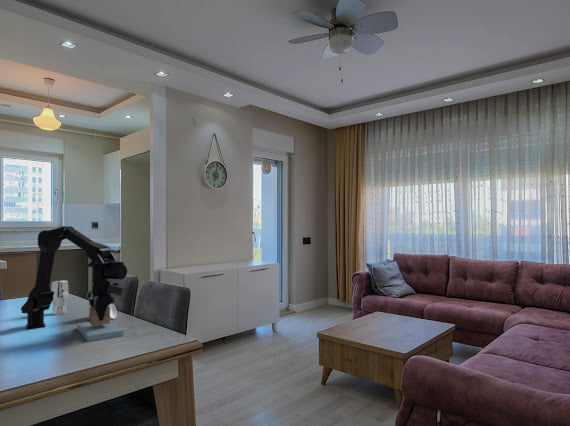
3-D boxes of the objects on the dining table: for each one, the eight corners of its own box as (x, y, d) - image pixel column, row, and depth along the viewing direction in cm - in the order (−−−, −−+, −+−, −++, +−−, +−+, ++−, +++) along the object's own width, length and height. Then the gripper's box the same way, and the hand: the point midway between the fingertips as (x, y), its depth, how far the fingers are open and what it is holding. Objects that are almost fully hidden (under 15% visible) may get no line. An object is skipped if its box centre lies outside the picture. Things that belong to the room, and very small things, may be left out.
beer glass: (71, 312, 180) (71, 281, 181) (55, 315, 175) (56, 282, 175) (63, 311, 184) (63, 279, 185) (47, 314, 178) (48, 281, 179)
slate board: (77, 328, 153) (77, 323, 153) (109, 323, 160) (109, 318, 160) (87, 341, 135) (87, 336, 135) (123, 335, 142) (123, 330, 143)
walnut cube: (89, 322, 148) (89, 307, 148) (106, 320, 152) (106, 305, 152) (92, 325, 144) (92, 309, 144) (109, 323, 147) (109, 307, 147)
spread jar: (90, 316, 173) (90, 290, 173) (117, 314, 177) (117, 289, 178) (87, 322, 162) (87, 295, 162) (116, 320, 166) (116, 293, 166)
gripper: (128, 279, 146) (127, 320, 145) (116, 274, 161) (115, 311, 160) (96, 282, 139) (95, 325, 138) (86, 276, 154) (86, 315, 153)
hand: (99, 319), depth 148 cm, fingers closed on walnut cube, 6 cm apart
